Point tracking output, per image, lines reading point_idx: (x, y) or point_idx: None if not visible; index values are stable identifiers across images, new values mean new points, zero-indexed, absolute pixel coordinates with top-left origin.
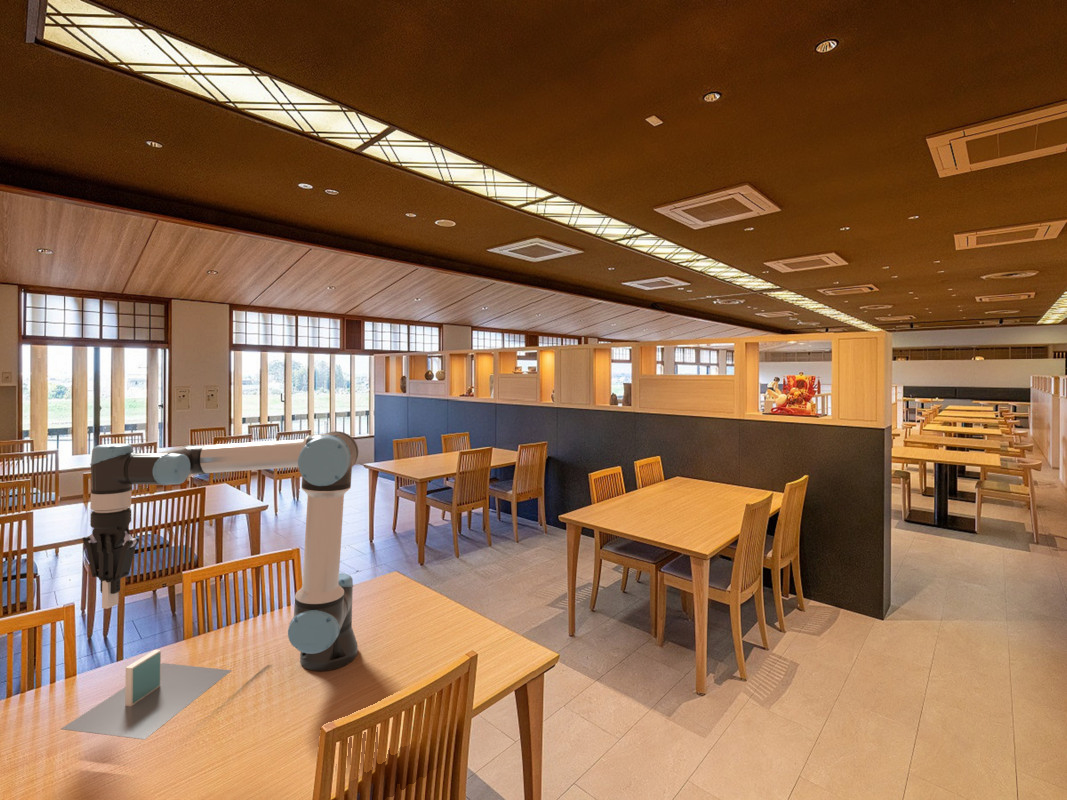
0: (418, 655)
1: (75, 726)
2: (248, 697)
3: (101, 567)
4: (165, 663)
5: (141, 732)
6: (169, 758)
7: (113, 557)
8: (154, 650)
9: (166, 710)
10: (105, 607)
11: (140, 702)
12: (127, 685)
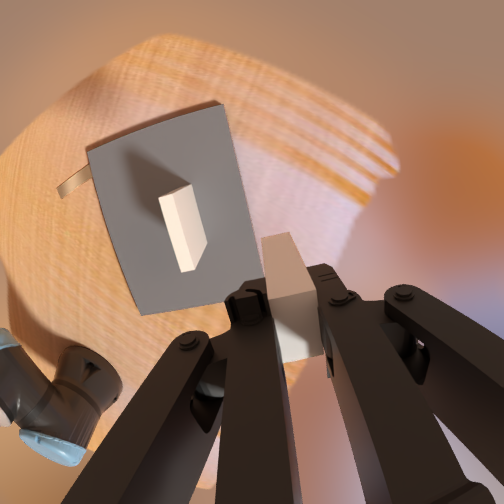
0: None
1: (207, 116)
2: (79, 279)
3: (362, 357)
4: None
5: (103, 157)
6: (52, 156)
7: (216, 494)
8: (192, 266)
9: (120, 205)
10: (271, 236)
11: None
12: (178, 189)
